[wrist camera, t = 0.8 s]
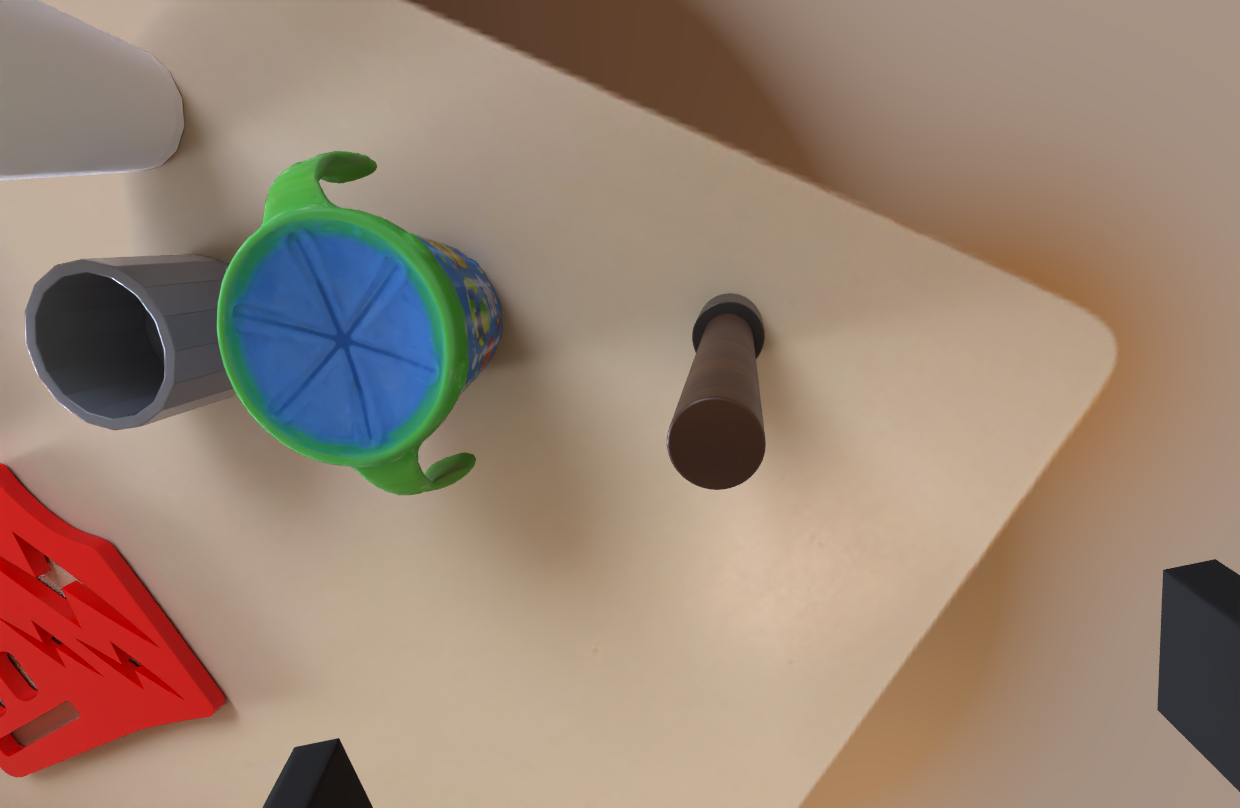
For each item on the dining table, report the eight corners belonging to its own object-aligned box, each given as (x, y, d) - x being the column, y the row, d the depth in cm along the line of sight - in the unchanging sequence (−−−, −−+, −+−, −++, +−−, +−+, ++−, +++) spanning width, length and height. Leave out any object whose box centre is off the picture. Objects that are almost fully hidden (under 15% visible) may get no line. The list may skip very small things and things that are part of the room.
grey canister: (145, 241, 39) (21, 243, 32) (276, 272, 38) (177, 282, 31) (143, 378, 41) (27, 406, 34) (267, 411, 40) (172, 447, 33)
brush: (706, 287, 34) (662, 359, 15) (769, 301, 34) (806, 394, 15) (691, 348, 35) (631, 490, 16) (752, 363, 35) (766, 527, 16)
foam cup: (52, 170, 39) (-274, 143, 26) (59, -7, 36) (-298, -131, 24) (201, 220, 38) (-63, 215, 25) (220, 42, 35) (-63, -60, 23)
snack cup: (314, 183, 36) (158, 167, 27) (499, 142, 34) (403, 108, 24) (386, 460, 40) (271, 535, 30) (559, 439, 37) (495, 513, 28)
